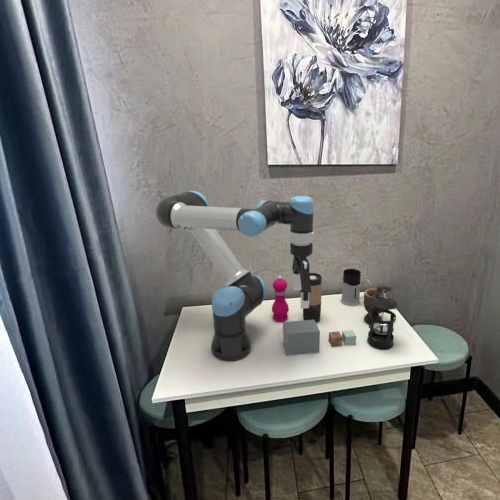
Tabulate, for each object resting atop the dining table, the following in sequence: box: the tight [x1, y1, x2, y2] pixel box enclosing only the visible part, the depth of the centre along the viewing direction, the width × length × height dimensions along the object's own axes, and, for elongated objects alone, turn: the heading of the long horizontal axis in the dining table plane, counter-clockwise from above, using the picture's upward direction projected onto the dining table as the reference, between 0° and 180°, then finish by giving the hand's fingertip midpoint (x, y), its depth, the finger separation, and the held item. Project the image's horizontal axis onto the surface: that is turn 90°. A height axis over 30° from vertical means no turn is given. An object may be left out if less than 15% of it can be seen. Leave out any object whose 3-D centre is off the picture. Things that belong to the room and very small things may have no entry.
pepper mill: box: [271, 275, 290, 323], centre depth 150 cm, size 7×7×20 cm
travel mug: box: [302, 272, 323, 324], centre depth 148 cm, size 8×8×20 cm
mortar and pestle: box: [363, 283, 387, 324], centre depth 144 cm, size 12×9×20 cm
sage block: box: [341, 329, 357, 347], centre depth 135 cm, size 4×4×4 cm
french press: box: [366, 285, 398, 351], centre depth 131 cm, size 12×9×23 cm
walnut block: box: [328, 331, 343, 348], centre depth 134 cm, size 4×4×4 cm
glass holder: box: [340, 268, 372, 307], centre depth 160 cm, size 9×14×15 cm, turn 40°
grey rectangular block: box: [282, 320, 321, 356], centre depth 132 cm, size 12×8×9 cm, turn 95°
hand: (300, 298), depth 127 cm, fingers open, 13 cm apart
